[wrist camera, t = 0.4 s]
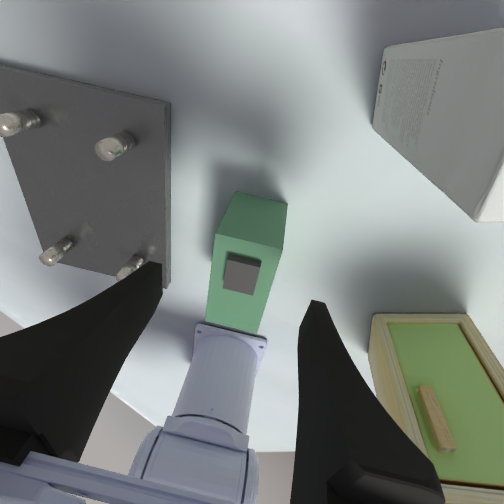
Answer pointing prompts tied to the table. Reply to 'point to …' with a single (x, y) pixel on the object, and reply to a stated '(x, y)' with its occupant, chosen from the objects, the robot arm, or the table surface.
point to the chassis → (90, 171)
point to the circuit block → (245, 261)
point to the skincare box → (449, 115)
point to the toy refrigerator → (444, 398)
